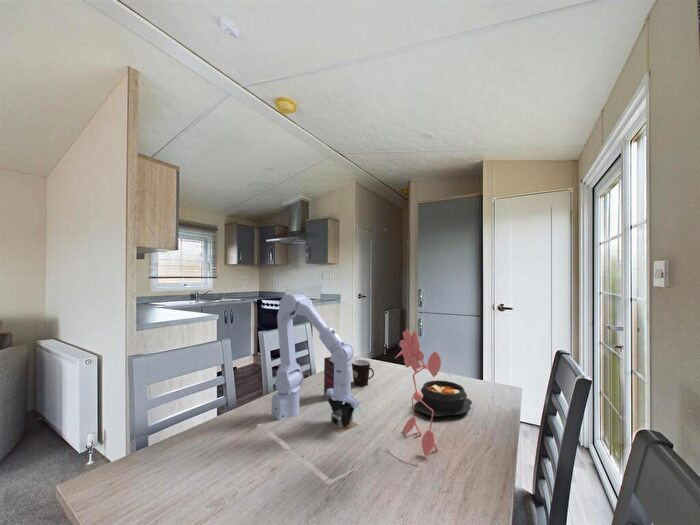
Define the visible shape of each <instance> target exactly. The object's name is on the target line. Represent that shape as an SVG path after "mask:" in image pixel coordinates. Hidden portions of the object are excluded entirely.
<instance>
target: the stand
mask: <svg viewBox="0 0 700 525" xmlns="http://www.w3.org/2000/svg"><path fill="white" fill-rule="evenodd" d="M325 425H327V426H328V427H330V428H332V429H333V430H335V431H336V432H337V433H341V434H342V433H344V432H347V431H348V430H351V429H353V428H355V427H357V426H359V424H358V423H356V422H355V421H353V424H351V425H348V426H346V427H343V428H341V429H337V428H336V427H334V426H332V425H331V421H329V422H326V423H325Z"/></svg>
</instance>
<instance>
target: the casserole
mask: <svg viewBox="0 0 700 525" xmlns="http://www.w3.org/2000/svg"><path fill="white" fill-rule="evenodd" d="M420 393H421V394H422V400H421V401H423V402H424V403H425V404H426V405H427V406H428V407H430V408H431V409H432V410H433V412H434V414H433V417H444V416H459V415H463V414H465V413H467V412H468V411H469V410H470V407H471V405H472V404H473V402H472V400H471V399H470V398H468V395H467V392H465V388H464V386H462V385H461V384H459V383H458V384H457V383H456V382H453V381H449V380H448V381H447V380H428V381H426V382H424V383H423V386H422V388H421V389H420ZM421 401H416V403H415V404H414V403H413V408H414V409H416V410H417V411H419V412H420V413H422V414H425V415H426V416H427V415H428V416H430V417H432V411H431V410H430V409H429V408H428V407H427V406H425V405H424V404H423V403H422V402H421Z"/></svg>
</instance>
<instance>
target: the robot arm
mask: <svg viewBox="0 0 700 525" xmlns="http://www.w3.org/2000/svg"><path fill="white" fill-rule="evenodd" d="M278 302H279V303H278V304H279V307H278V311H277V316H276V319H277V321H276V322H277V333H278V344H279V359H280V366H279V367H278V368H277V370H276V379H275V381H274V387H275V388H276V391H277V392H276V393H275V394H273V395H272V397H271V414H270V417H271V418H273V417H274V418H275V419H277V420H278V421H282V420H284V419H285V420H286V419H288V418H294V417H296V416H298V415H299V414H300V388H301V385H302V384H303V382H304V375H303V372H302V370H301V365H300V364H299V363H297V359H296V358H297V356H296V347H295V344H296V343H295V334H294V333H295V332H294V320H293V319H294V318H296V316H297V315H298V316H299V315H300V316H303V317H306V320H308V321H309V322H310V323H311V324H312V326H313V327H314V328H315V330H317V331H318V335H319V339H320V341H321V343H322V344H323V345H324V347H326V349H327V351H329V353H330V354H331V355H330V357H331V360H332V361H333V363H334V389H332V388H330V389H327V395H328V396H329V395H331V396H332V397H331V399H330V398H329V399H327V400H328V404H329V406H330V408H331V412H335V411H338V410H340V409H341V411H342V416H343V426H347V425H349V423H350V419H351V416H352V413H353V411H354V409H355V408H357V407H358V408H360V400H358V399H356V398H355V396H353V395H352V394H351V393H352V391H351V390H352V388H351V384H352V381H351V380H352V359H353V358H354V350H353V347H352V345H351V344H349V343H346V342H345V341H344V340H343V339H342V338H341V336H340V335H339V334H338V330H337V329H336V328H334V327H332V326H331V327H330V326H327V324H326V323H325V322H326V321H324V319H323V318H322V317H321V315H320V314H319V312H318V311H317V310H316V308H315V305H313V301H312V299H310V297H309V296H308V294H306V293H304V292H300V293H294V294H293V293H291V294H289V293H288V294H285V295H283V297H282V298H281V299H280V300H279V301H278ZM342 404H343V405H342ZM353 414H354V413H353Z"/></svg>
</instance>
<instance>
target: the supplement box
mask: <svg viewBox="0 0 700 525" xmlns="http://www.w3.org/2000/svg"><path fill="white" fill-rule="evenodd" d="M323 363H324V365H323V366H324V367H323V368H324V369H323V370H324V371H323V375H324V376H323V378H324V380H323V396H324V397H325V398H326V399H327V400H329V399H331V397H332V396H331V395H329V396H328V395H327V389H330V388H332V389H334V363H333V361H332V360H331V356H329V357H324V362H323Z"/></svg>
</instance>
